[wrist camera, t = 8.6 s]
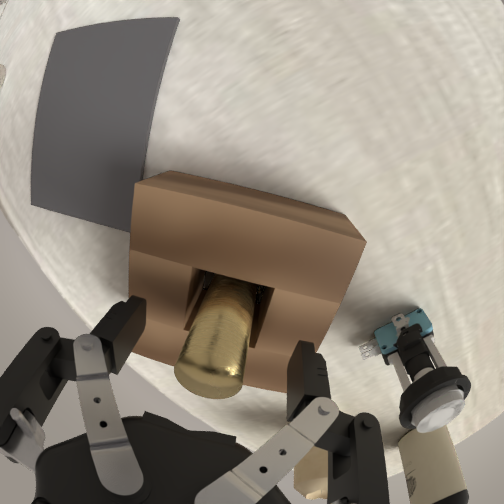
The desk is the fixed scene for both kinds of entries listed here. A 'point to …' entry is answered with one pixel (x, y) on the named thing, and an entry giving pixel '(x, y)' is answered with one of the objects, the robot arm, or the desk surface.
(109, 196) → the mat
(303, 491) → the candle
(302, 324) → the socket block
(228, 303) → the pin
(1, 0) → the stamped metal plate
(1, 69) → the milkshake
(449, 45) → the desk surface
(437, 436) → the travel mug
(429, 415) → the push button
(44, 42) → the desk surface
